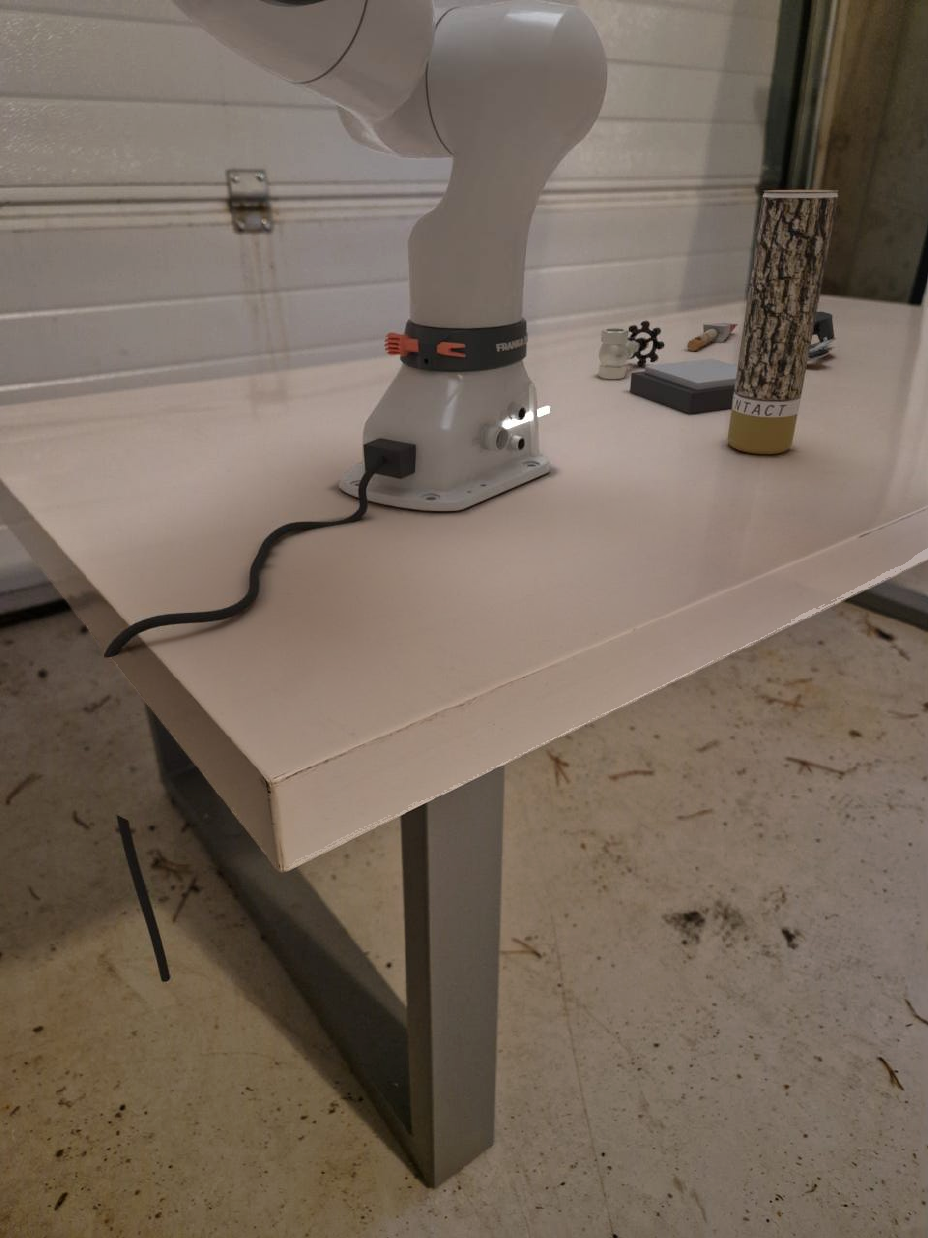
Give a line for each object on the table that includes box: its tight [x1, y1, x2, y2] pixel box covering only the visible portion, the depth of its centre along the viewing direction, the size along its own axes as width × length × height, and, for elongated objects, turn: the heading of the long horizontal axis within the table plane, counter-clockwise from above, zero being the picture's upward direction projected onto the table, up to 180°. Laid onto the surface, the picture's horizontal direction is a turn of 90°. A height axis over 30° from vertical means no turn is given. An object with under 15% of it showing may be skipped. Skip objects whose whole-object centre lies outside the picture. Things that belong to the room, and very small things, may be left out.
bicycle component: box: [808, 311, 837, 362], centre depth 130 cm, size 12×7×15 cm
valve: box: [598, 320, 666, 380], centre depth 123 cm, size 7×7×12 cm
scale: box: [629, 357, 738, 415], centre depth 110 cm, size 13×13×4 cm
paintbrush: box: [686, 322, 739, 352], centre depth 144 cm, size 4×3×20 cm
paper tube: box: [727, 189, 839, 455], centre depth 85 cm, size 7×7×25 cm
